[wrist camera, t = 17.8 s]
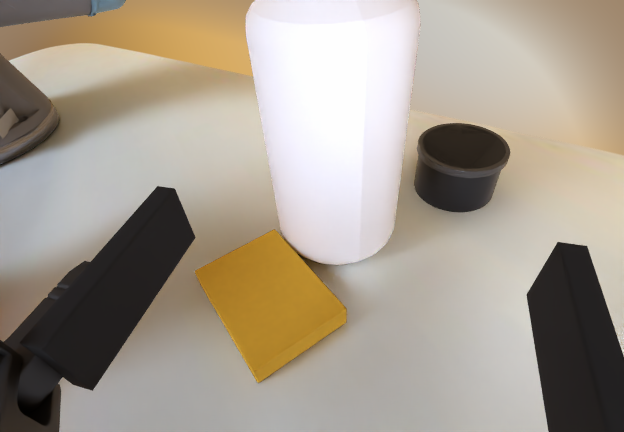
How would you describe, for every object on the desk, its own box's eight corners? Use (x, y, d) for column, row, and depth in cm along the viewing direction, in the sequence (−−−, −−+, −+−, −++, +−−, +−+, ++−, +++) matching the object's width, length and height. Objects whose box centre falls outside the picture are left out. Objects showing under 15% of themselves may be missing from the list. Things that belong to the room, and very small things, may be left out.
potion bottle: (284, 194, 31) (241, -84, 18) (385, 189, 30) (412, -99, 18) (277, 274, 25) (206, -59, 12) (402, 270, 24) (462, -79, 12)
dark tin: (395, 183, 31) (400, 142, 28) (447, 155, 33) (457, 114, 30) (457, 226, 27) (470, 183, 24) (512, 191, 29) (529, 148, 26)
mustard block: (200, 284, 24) (194, 270, 23) (277, 243, 27) (274, 228, 26) (258, 384, 19) (253, 371, 18) (347, 322, 22) (347, 308, 21)
